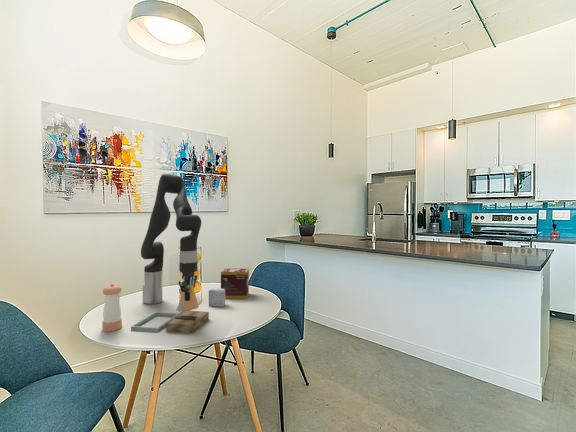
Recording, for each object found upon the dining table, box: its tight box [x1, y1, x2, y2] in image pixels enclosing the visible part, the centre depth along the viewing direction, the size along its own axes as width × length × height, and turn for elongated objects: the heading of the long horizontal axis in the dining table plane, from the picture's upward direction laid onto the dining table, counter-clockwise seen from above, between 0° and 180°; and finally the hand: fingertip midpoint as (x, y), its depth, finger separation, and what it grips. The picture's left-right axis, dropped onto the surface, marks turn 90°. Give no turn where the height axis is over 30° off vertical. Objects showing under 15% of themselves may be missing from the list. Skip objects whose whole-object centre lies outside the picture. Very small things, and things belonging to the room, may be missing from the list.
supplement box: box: [220, 268, 250, 299], centre depth 180 cm, size 10×15×16 cm
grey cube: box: [208, 287, 226, 307], centre depth 162 cm, size 8×4×9 cm, turn 84°
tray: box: [130, 311, 180, 333], centre depth 133 cm, size 12×18×2 cm, turn 172°
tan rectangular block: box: [178, 285, 200, 311], centre depth 131 cm, size 6×2×10 cm, turn 82°
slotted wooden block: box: [165, 310, 210, 334], centre depth 131 cm, size 12×16×5 cm
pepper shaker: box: [101, 283, 123, 332], centre depth 130 cm, size 7×7×19 cm
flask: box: [176, 296, 184, 313], centre depth 152 cm, size 7×7×10 cm
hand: (188, 299), depth 131 cm, fingers closed on tan rectangular block, 1 cm apart
